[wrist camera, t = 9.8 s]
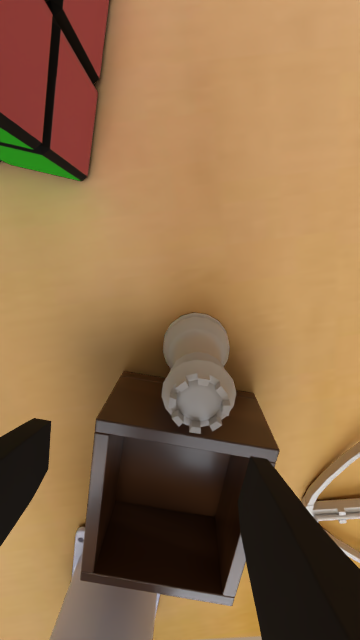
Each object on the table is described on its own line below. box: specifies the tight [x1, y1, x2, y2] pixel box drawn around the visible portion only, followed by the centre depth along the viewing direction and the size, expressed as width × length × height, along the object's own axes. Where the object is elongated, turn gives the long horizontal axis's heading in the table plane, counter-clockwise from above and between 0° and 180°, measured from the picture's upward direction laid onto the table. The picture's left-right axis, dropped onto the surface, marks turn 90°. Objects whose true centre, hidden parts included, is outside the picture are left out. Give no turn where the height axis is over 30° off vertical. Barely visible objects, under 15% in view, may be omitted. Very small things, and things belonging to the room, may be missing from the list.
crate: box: [80, 371, 279, 606], centre depth 18 cm, size 12×10×6 cm
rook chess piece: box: [162, 313, 236, 434], centre depth 15 cm, size 4×4×8 cm
